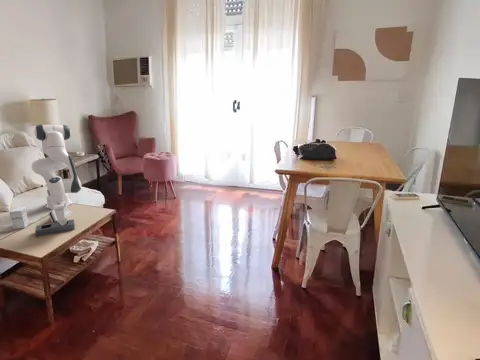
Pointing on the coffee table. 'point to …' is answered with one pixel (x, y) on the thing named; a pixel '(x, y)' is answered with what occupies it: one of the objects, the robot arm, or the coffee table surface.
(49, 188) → the robot arm
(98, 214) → the coffee table surface
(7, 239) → the coffee table surface
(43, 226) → the rail
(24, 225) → the supplement box
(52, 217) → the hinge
